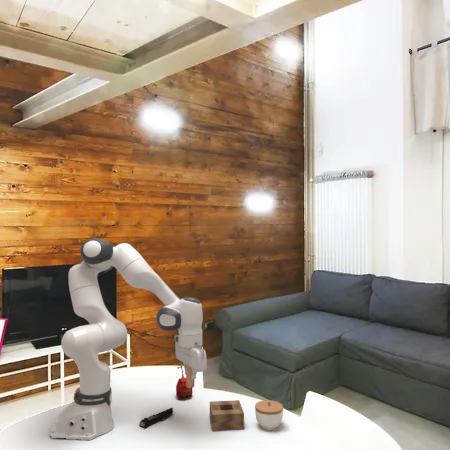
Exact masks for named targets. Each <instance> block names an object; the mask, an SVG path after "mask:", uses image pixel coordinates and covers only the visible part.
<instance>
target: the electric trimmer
mask: <svg viewBox="0 0 450 450" xmlns="http://www.w3.org/2000/svg"><path fill="white" fill-rule="evenodd" d="M173 414H174V408H173V407H170V408H167V409H165V410H162V411H160V412H158V413H155V414H153V415H151V416H148V417H144V418H143V419H141V420H140V422H139V424H138V426H139V427H140V428H141V429H142V430H143V429H147V428H148V427H149V426H151V425H152V424H154V423H157V422H159V421H164V420H166V419H167V418H169V417H170V416H171V415H173Z"/></svg>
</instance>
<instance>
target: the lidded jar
mask: <svg viewBox="0 0 450 450" xmlns="http://www.w3.org/2000/svg"><path fill="white" fill-rule="evenodd" d="M254 408H255V409H254V410H255V411H254V412H255V418H256V421H257V423H258V425H260V426H261V428H262V429H264V430H266V431H274V430H276V429H277V428H278V427H279V426H280V424H281V423H282V421H283V418H284V416H283V415H284V406H283V404H282V403H280V401H276V400H272V399H270V400H269V399H268V400H267V399H265V400H259V401H257V402H256V403H255V405H254Z"/></svg>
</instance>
